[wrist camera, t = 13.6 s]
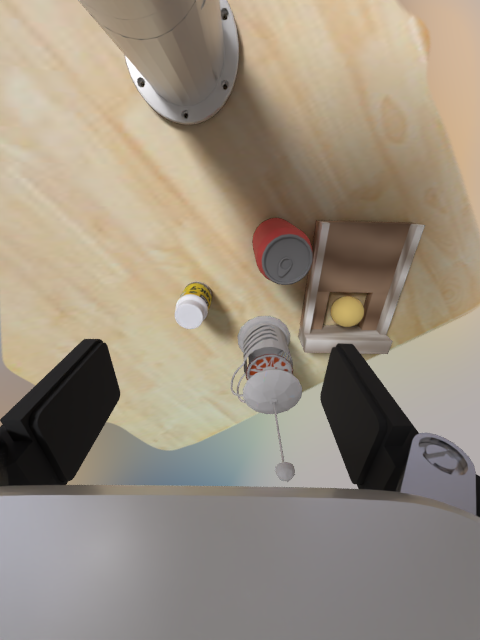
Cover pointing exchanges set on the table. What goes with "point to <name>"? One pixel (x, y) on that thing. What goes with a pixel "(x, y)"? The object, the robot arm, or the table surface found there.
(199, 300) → the supplement bottle
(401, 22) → the table surface
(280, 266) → the beer can
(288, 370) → the french press
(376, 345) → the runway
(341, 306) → the ball
